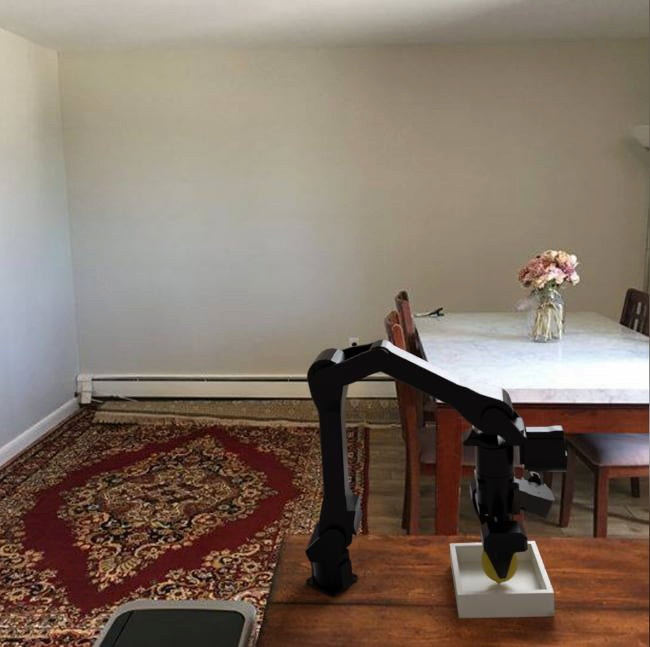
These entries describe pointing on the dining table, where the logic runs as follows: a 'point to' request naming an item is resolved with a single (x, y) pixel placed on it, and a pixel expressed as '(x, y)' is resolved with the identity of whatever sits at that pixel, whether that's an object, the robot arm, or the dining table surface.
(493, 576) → the lemon
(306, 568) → the dining table surface
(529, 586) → the box
